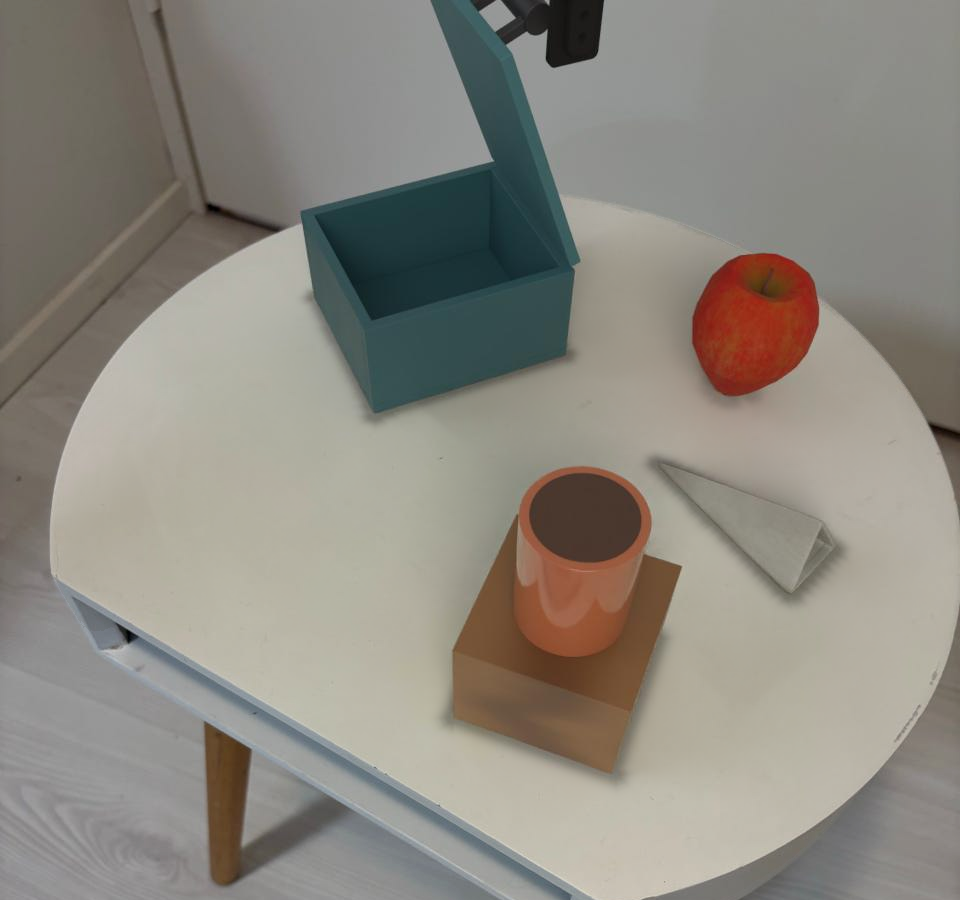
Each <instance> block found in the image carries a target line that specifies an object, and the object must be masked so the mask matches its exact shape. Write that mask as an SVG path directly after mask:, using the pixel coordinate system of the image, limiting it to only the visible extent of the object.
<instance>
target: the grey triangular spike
mask: <svg viewBox="0 0 960 900" xmlns="http://www.w3.org/2000/svg"><path fill="white" fill-rule="evenodd" d="M658 466H659V468H660V469H661V470H662V471H663V472H664V473H665V474H666V475H667V476H668V477H669V478H670V479H671V480H672V481H673V482H674V483H675V485H677V486H678V487H679V488H680V489H681V490H682V491H683V492H684V494H686V495H687V496H688V497H689V498H690V499H691V500H692V501H693V502H694V503H695V505H697V506H698V507H699V508H700V510H702V512H704V513H705V514H706V515H707V516H708V517H709V518H710V519H711V520H712V521H713V523H715V524H716V525H717V526H718V527H719V528H720V529H721V530H722V531H723V532H724V533H725V534H726V535H727V536H728V537H729V538H730V539H731V540H732V541H733V542H734V543H735V544H736V545H737V546H738V547H739V548H740V549H741V551H743V552H744V553H745V554H746V555H747V556H748V557H749V558H750V559H752V561H753V562H755V564H756V565H757V566H759V567H760V568H761V569H762V570H763V572H765V574H767V576H769V578H771V579H772V580H773V581H774V582H775V583H776V584H777V585H778V586H779V587H781V589H783V590H784V591H785V592H786V593H788V594H791V595H792V594H793V593H794V592H795V591H796V590H797V589H798V588H799V587H800V586H801V585H802V583H804V581H805V580H806V579H807V578H808V577H809V576H810V575H812V573H813V572H814V571H815V570H816V568H817V567H818V566H819V565H821V563H822V562H823V561H824V560H825V559H826V558H827V557H828V556H829V555H830V554H831V552H832V551H833V550H834V549H835V548H836V546H837V544H836V542H835V539H834V537H833V535H832V533H831V532H830V529H829V528H828V526H827V525H826V523H825V521H823V520H821V519H819V518H817V517H814V516H812V515H809V514H807V513H804V512H801V511H798V510H795V509H793V508H790V507H788V506H785V505H781V504H779V503H776V502H773V501H770V500H767V499H765V498H762V497H759V496H756V495H753V494H751V493H749V492H746V491H742V490H740V489H738V488H734V487H731V486H730V485H726V484H723V483H720V482H717V481H714V480H712V479H709V478H706V477H704V476H700V475H697V474H695V473H692V472H689V471H686V470H683V469H680V468H677V467H674V466H671V465H669V464H667V463H666V464H665V463H663V462H658Z"/></svg>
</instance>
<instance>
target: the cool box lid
mask: <svg viewBox="0 0 960 900" xmlns="http://www.w3.org/2000/svg"><path fill="white" fill-rule="evenodd" d="M429 1H430V4H431V6H432V9H433V11H434V13H435V16H436V19H437V22H438V24H439V26H440V27H439V28H441V29H440V30H441V32H442V34H443V36H444V39H445V41H446V44H447V47H448V49H449V52H450V54H451V55H450V56H451V57H452V60H453V63H454V66H455V67H456V70H457V72H458V75H459V77H460V80H461V83H462V85H463V88H464V91H465V93H466V95H467V98H468V101H469V103H470V107H471V108H472V111H473V114H474V116H475V119H476V122H477V124H478V126H479V130H480V131H481V134H482V136H483V140H484V142H485V144H486V147H487V150H488V152H489V155H490V157H491V159H492V160H493V161H495V163H496V164H497V166H498V167H499V168H500V170H501V171H502V173H503V174H504V175H505V177H506V178H507V180H508V181H509V182H510V184H511V185H512V186H513V188H514V189H515V191H516V192H517V193H518V195H519V196H520V198H521V199H522V200H523V202H524V203H525V204H526V206H527V207H528V209H529V210H530V211H531V213H532V214H533V216H534V217H535V218H536V220H537V221H538V223H539V224H540V225H541V227H542V228H543V229H544V231H545V232H546V234H547V235H548V236H549V238H550V239H551V241H552V242H553V243H554V245H555V246H556V248H557V249H558V250H559V252H560V253H561V254H562V256H563V257H564V259H565V260H566V261H567V263H568V264H569V266H570V267H573V268H574V267H575V266H576V265H578V264H579V263H581V258H580V254H579V252H578V249H577V245H576V243H575V240H574V237H573V234H572V231H571V228H570V225H569V222H568V218H567V215H566V212H565V209H564V206H563V203H562V200H561V197H560V194H559V191H558V187H557V185H556V182H555V179H554V176H553V173H552V170H551V166H550V164H549V161H548V157H547V155H546V152H545V149H544V148H545V147H544V145H543V142H542V139H541V137H540V134H539V130H538V127H537V124H536V121H535V118H534V115H533V112H532V109H531V105H530V103H529V99H528V97H527V93H526V91H525V87H524V84H523V82H522V79H521V76H520V72H519V70H518V67H517V63H516V60H515V58H514V54H513V52H512V51H511V49H509V47H508V46H507V45H508V44H511V42H513V41H515V40H516V39H518V38H519V37H521V36H522V35H524V34H526V33H528V35H530V36H534V37H535V36H541V35H543V34H545V33H546V32H547V29H548V15H549V3H547V1H546V0H500V1H501V3H502V4H503V5H504V6H505V7H506V8H507V9H508V11H509V12H510V13H511V14H512V16H513V17H514V18H513V19H512V20H511V21H509V22H508V23H506V24H505V25H503V26H502V27H500V28H498V29H497V30H494V29H493V27H492V26H491V25H490V24H489V23H488V21H487V20H486V19H485V17H484V15H482V14H481V13H480V12H481V11H482V10H484V9H485V8H487V7H488V6H490V5H492V4H493V3H494V2H496V1H497V0H429Z"/></svg>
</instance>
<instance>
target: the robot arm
mask: <svg viewBox="0 0 960 900" xmlns="http://www.w3.org/2000/svg"><path fill="white" fill-rule="evenodd" d="M604 3H605V0H549V2H548V5H549V15H548V29H547V30H546V46H545V62H546V63H547V64H548V66H549V67H550V68H552V69H556V68H560V67H561V68H562V67H564V66H568V65H573V64H577V63H581V62H582V63H583V62H586V61H591V60H593V59H595V58H596V57H597V56H598V55H599V49H600V42H601V32H602V24H603V16H604V15H603V14H604V5H605V4H604Z"/></svg>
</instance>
